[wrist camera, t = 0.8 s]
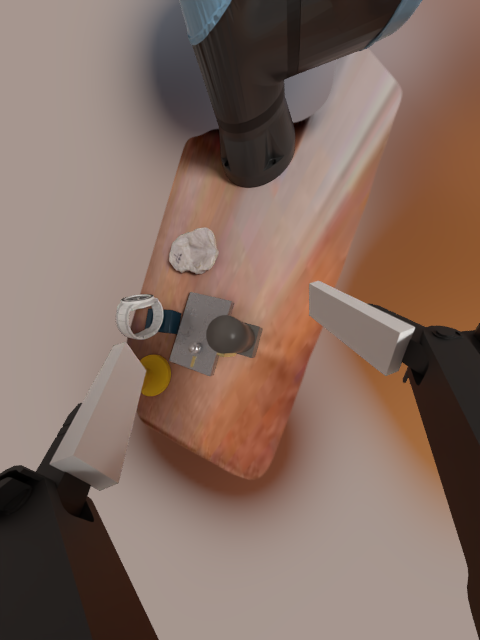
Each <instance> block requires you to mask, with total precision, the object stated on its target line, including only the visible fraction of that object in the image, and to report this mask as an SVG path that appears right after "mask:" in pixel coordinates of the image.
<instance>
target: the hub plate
mask: <svg viewBox="0 0 480 640" xmlns="http://www.w3.org/2000/svg"><path fill="white" fill-rule="evenodd" d="M233 305H234V303H233V302H232V301H229V300H224V299H220V298H215V297H211V296H206V295H202V294H197V293H193V292H190V295H189V298H188V301H187V304H186V308H185V311H184V314H183V317H182V321H181V324H180V327H179V330H178V334H177V337H176V340H175V343H174V347H173V350H172V353H171V356H170V359H169V361H171V362H173V363H176V364H179V365H181V366H184V367H187V368H189V369H192V370H195V371H197V372H200V373H203V374H205V375H208V376H212V375H214V372H215V368H216V365H217V361H218V358H219V355H217V353H218V352H216V351H214V350H213V349H212V348H211V347H210V346H209V344H208V342H207V339H206V331H207V328H208V326H209V324H210V322H211V321H212V320H213V319H215V318H216V317H218V316H221V315H228V316H231V312H232V309H233Z"/></svg>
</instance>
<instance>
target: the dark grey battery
mask: <svg viewBox="0 0 480 640" xmlns="http://www.w3.org/2000/svg"><path fill="white" fill-rule="evenodd" d="M261 333H262V328H261V327H258V326H255V325H251V324H247V323H243V322H241V321H239V320H237V319H235V318H234V317H232V316H228V315H221V316H218V317H216V318H215V319H213V320H212V321H211V322H210V324H209V326H208V328H207V331H206V339H207V342H208V344H209V346H210V347H211V348H212V349H213V350H214V351H216V352H218V353H217V355H219V356H222V357H231V356H236V353H237V354H240V355H244V356H247V357H250V358H254V357H255V355H256V352H257V348H258V344H259V340H260V337H261Z"/></svg>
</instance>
